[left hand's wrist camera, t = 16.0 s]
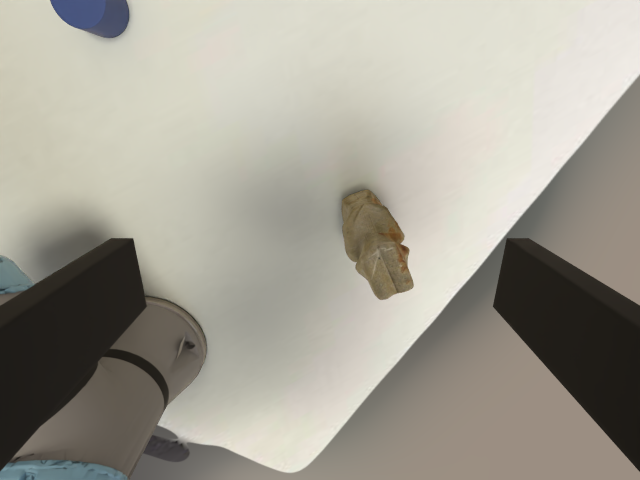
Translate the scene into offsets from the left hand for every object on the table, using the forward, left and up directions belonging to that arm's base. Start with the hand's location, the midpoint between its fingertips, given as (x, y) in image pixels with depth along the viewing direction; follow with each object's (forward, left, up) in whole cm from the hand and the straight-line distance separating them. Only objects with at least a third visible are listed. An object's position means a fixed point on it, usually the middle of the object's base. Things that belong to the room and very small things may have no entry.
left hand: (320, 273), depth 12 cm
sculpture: (-3, -8, -29) cm, 31 cm away
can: (+2, +26, -29) cm, 40 cm away
